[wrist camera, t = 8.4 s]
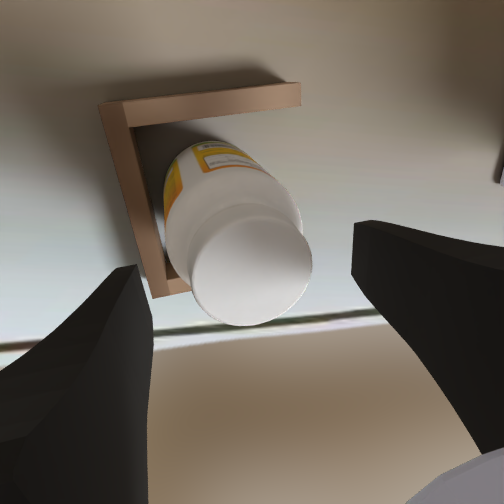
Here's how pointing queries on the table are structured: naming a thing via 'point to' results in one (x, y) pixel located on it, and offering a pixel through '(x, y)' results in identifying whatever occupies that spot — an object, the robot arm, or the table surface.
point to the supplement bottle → (234, 235)
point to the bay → (130, 166)
